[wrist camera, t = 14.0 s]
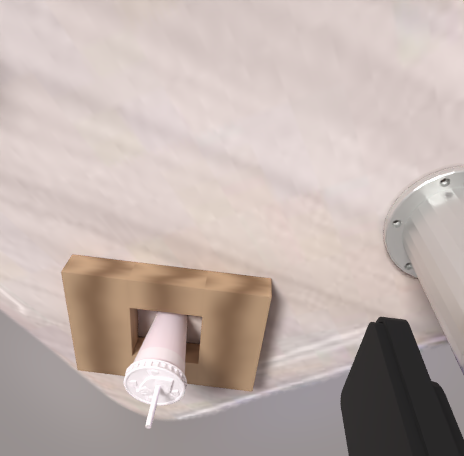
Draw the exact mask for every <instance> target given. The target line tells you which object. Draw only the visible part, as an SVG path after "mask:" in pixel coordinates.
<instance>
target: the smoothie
mask: <svg viewBox="0 0 464 456" xmlns="http://www.w3.org/2000/svg"><path fill="white" fill-rule="evenodd" d="M186 337H187V315H185V314H176V313H168V312H160V311H158V313H157V315H156V317H155V319H154V321H153V323H152V325H151V327H150V329H149V331H148V333H147V335H146V337H145V339H144V342H143V344H142V346H141V348H140V350H139V352H138V354H137V356H136V358H135V360H134V362H133V363H132V364H131V365H130V366H129V367H128V368H127V370H126V373H125V377H124V387H125V389H126V390H127V392H128V393H129V394H130V395H131V396H132V397H134V398H135V399H137V400H139V401H141V402H144V403H147V404H151V406H150V410H149V414H148V417H147V421H146V425H145V427H146V428H151V426H152V422H153V418H154V414H155V410H156V406H157V405H169V404H173V403H175V402H177V401H179V400H180V399H181V398H182V397H183V396H184V393H185V389H186V386H187V379H186V377H185V356H186Z"/></svg>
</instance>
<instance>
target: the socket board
mask: <svg viewBox="0 0 464 456" xmlns="http://www.w3.org/2000/svg"><path fill="white" fill-rule="evenodd" d="M61 274H62V280H63V286H64V292H65V298H66V304H67V310H68V315H69V321H70V327H71V333H72V339H73V345H74V351H75V357H76V363H77V369H78V370H80V371H89V372H97V373H105V374H113V375H121V376H125V373H126V370H127V368H128V367H129V366H130V365H131V364H132V363H133V362H134V360H135V358H136V356H137V354H138V352H139V350H140V348H141V346H142V344H143V342H144V339H145V337H139V336H138V310H137V309H143V310H152V311H160V312H168V313H176V314H185V315H193V316H201V317H202V326H201V338H200V344H194V343H186V356H185V377H186V379H187V384H195V385H203V386H211V387H219V388H228V389H236V390H244V391H252V390H253V385H254V380H255V376H256V371H257V366H258V361H259V356H260V351H261V346H262V342H263V337H264V332H265V327H266V322H267V317H268V312H269V307H270V303H271V298H272V294H271V279H270V278H262V277H254V276H246V275H237V274H229V273H221V272H213V271H204V270H196V269H188V268H180V267H171V266H163V265H155V264H147V263H138V262H130V261H122V260H114V259H105V258H97V257H89V256H81V255H72V256H71V257H70V259H69V261H68V262H67V264H66V265H65V267H64V268H63V270H62V271H61Z"/></svg>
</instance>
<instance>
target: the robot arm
mask: <svg viewBox="0 0 464 456" xmlns="http://www.w3.org/2000/svg"><path fill="white" fill-rule="evenodd" d="M442 179H443V180H442ZM383 233H384V243H385V246H386V249H387V251H388V253H389V256H390V258H391V259H392V261H393V262H394V263H395V264H396V266H397V267H399V268H400V269H401V270H402V271H404V272H405V273H408V274H410V275H412V276H414V277H417V278H418V279H419V281H420V283H421V285H422V288H423V290H424V292H425V294H426V296H427V298H428V300H429V302H430V305H431V307H432V309H433V311H434V313H435V315H436V317H437V319H438V321H439V324H440V326H441V328H442V330H443V332H444V334H445V336H446V338H447V341H448V343H449V345H450V347H451V349H452V351H453V353H454V355H455V358H456V360H457V362H458V364H459V366H460V368H461V370H462V372H463V374H464V166H457V167H452V168H448V169H443V170H440V171H438V172H435V173H432V174H430V175H428V176H426V177H424V178H422V179H421V180H419V181H417V182H416V183H414V184H413V185H412V186H410V187H409V188H408V189H406V190H405V191H404V192H403V193H402V194H401V196H400V197H399V198H398V199H397V200H396V201H395V203H394V204H393V206H392V207H391V209H390V210H389V213H388V215H387V218H386V220H385V225H384V230H383ZM341 410H342V416H343V423H344V429H345V435H346V440H347V447H348V453H349V456H464V439H463V437H462V434H461V432H460V430H459V427H458V425H457V422H456V420H455V417H454V415H453V412H452V410H451V407H450V405H449V402H448V400H447V398H446V395H445V393H444V391H443V389H442V388H441V386H439V384H438V383H436V382H433V381H431V379H430V377H429V374H428V372H427V369H426V367H425V364H424V361H423V359H422V356H421V354H420V351H419V348H418V346H417V343H416V341H415V338H414V335H413V333H412V330H411V328H410V325H409V323H408V322H407V321H406V320H403V319H395V318H387V317H379V318H378V320H377V321H376V323H375V322H370V323H369V325H368V327H367V330H366V332H365V335H364V337H363V340H362V342H361V345H360V347H359V350H358V352H357V355H356V357H355V360H354V362H353V365H352V367H351V370H350V372H349V375H348V378H347V380H346V382H345V385H344V387H343V390H342V393H341Z"/></svg>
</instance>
